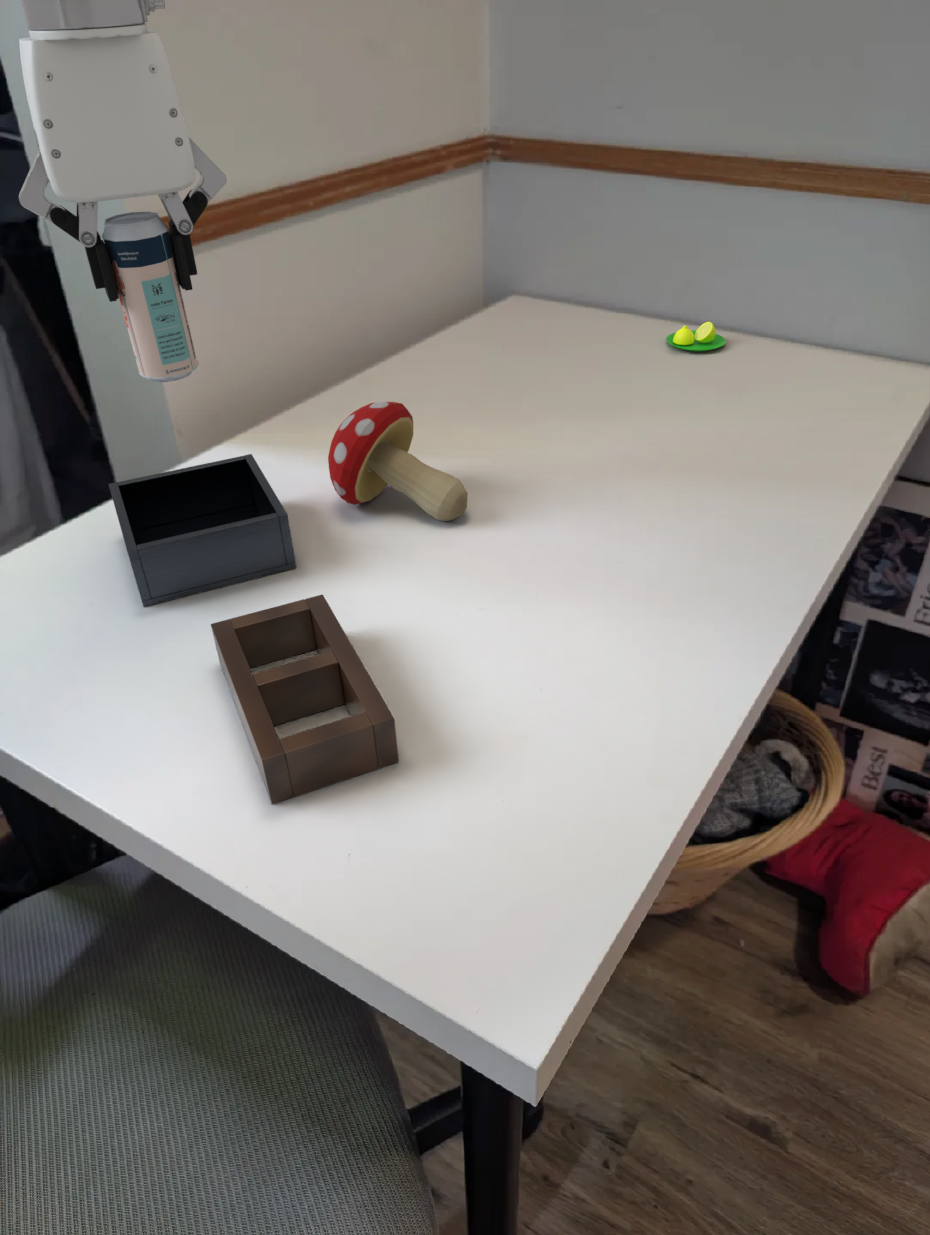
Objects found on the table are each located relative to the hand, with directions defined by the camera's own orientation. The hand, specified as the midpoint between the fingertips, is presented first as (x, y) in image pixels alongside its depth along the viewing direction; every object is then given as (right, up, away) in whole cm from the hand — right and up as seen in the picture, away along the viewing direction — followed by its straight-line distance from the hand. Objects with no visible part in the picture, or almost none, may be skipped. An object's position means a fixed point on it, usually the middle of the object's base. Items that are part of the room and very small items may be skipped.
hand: (148, 288), depth 71 cm
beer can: (0, -6, +4) cm, 7 cm away
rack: (+13, -32, -4) cm, 35 cm away
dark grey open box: (0, -19, +15) cm, 25 cm away
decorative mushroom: (+19, -14, +22) cm, 32 cm away
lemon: (+56, +12, +56) cm, 80 cm away
